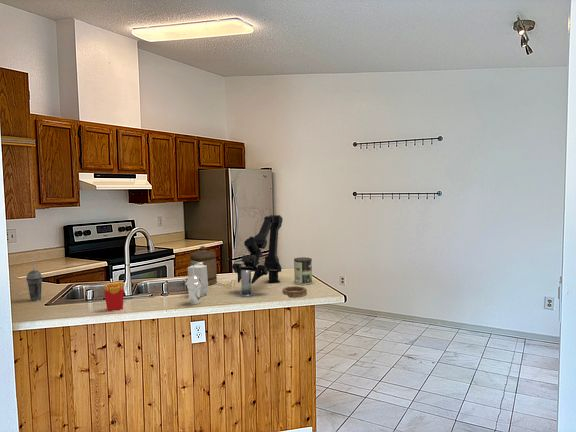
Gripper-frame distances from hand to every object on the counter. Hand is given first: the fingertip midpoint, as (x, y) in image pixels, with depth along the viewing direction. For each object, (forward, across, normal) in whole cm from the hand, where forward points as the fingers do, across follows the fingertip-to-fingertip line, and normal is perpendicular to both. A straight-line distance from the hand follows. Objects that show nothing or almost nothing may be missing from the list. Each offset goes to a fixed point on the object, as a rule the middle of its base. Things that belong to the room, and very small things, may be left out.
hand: (245, 282), depth 223 cm
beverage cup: (+33, -101, -22) cm, 109 cm away
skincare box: (+8, -26, +3) cm, 27 cm away
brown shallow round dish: (-4, +22, +15) cm, 27 cm away
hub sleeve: (+4, 0, +6) cm, 7 cm away
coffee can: (-22, +18, +33) cm, 44 cm away
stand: (+4, 0, +6) cm, 8 cm away
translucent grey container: (-9, -38, +20) cm, 43 cm away
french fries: (+32, -50, -21) cm, 63 cm away
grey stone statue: (+17, -19, -6) cm, 27 cm away
